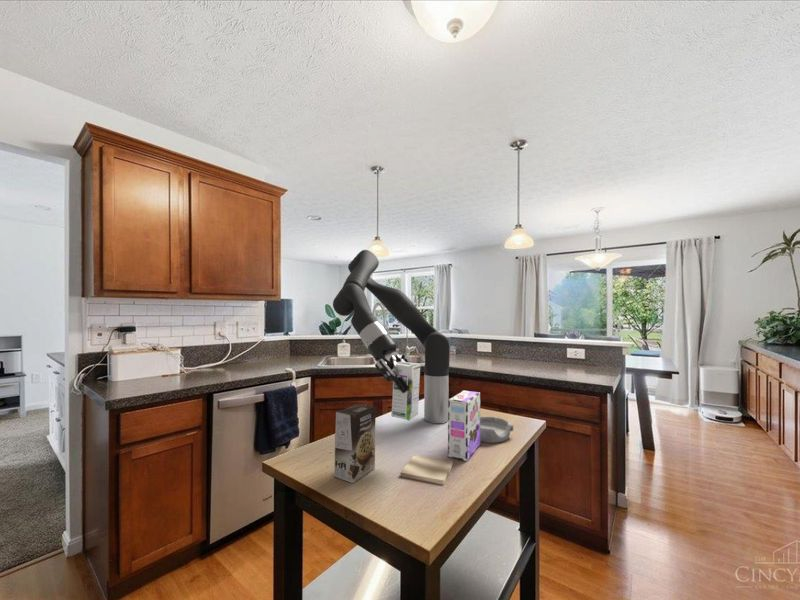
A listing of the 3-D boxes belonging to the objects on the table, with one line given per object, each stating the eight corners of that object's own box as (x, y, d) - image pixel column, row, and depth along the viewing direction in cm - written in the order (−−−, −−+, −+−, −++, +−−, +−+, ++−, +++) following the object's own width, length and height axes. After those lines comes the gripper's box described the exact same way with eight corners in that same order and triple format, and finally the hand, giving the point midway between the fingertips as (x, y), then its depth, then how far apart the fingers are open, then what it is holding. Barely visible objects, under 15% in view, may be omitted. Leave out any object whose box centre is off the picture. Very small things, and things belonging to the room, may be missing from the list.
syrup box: (390, 416, 91) (392, 363, 91) (400, 410, 96) (402, 360, 96) (409, 421, 88) (411, 366, 88) (418, 414, 93) (420, 363, 93)
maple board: (414, 458, 93) (414, 454, 93) (453, 465, 90) (453, 461, 90) (400, 476, 83) (400, 472, 83) (443, 484, 79) (443, 480, 79)
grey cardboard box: (353, 484, 79) (354, 415, 80) (333, 477, 83) (334, 411, 83) (376, 469, 87) (376, 406, 88) (356, 463, 90) (357, 403, 91)
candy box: (467, 462, 91) (467, 401, 92) (447, 457, 94) (447, 398, 95) (481, 445, 103) (481, 391, 104) (462, 441, 106) (462, 389, 107)
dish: (516, 436, 112) (516, 421, 112) (499, 448, 101) (499, 432, 101) (477, 426, 121) (477, 412, 121) (457, 437, 111) (457, 421, 111)
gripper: (383, 346, 105) (415, 391, 99) (354, 351, 92) (389, 402, 86) (398, 331, 102) (432, 375, 96) (371, 334, 90) (408, 385, 83)
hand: (411, 388), depth 91 cm, fingers closed on syrup box, 6 cm apart
